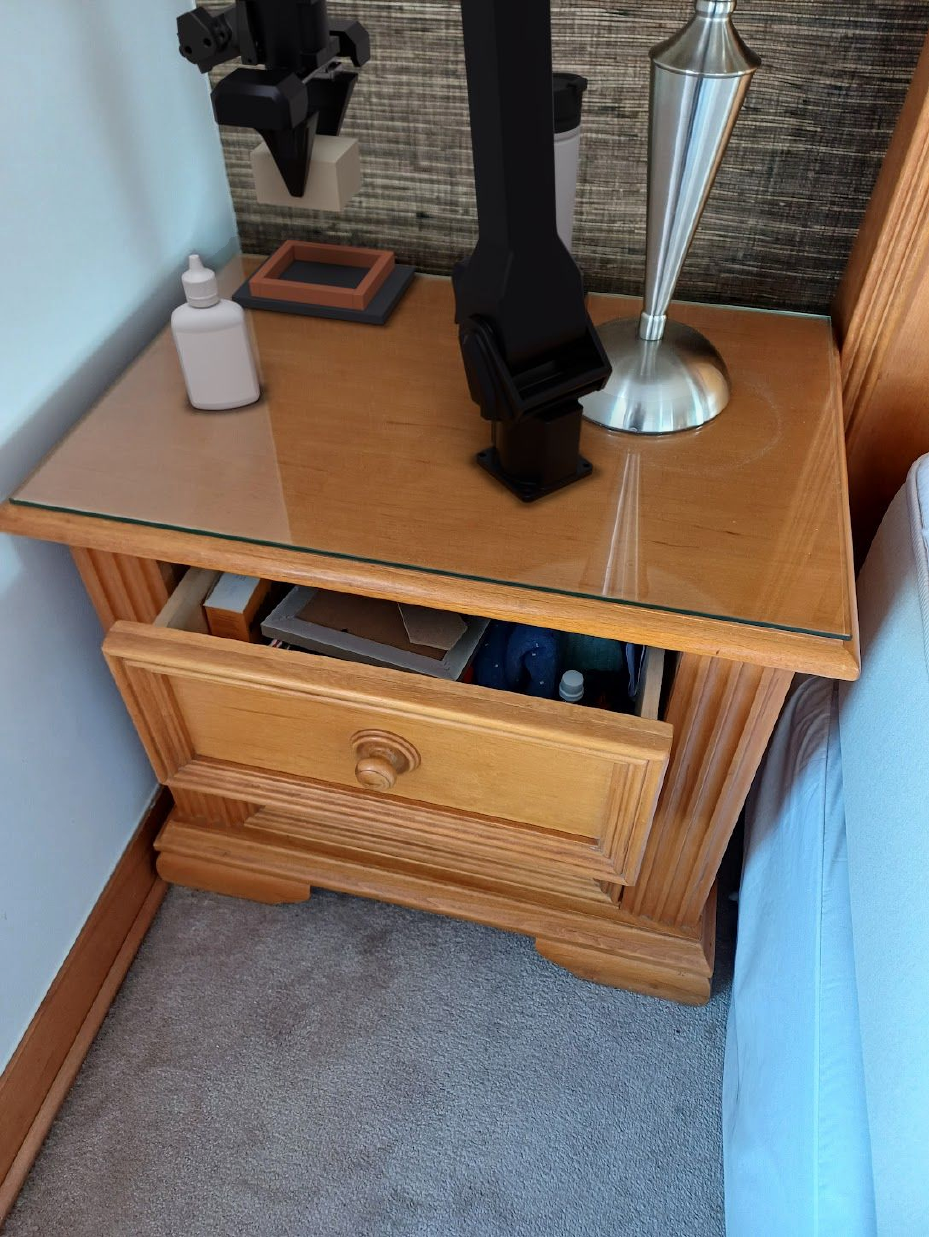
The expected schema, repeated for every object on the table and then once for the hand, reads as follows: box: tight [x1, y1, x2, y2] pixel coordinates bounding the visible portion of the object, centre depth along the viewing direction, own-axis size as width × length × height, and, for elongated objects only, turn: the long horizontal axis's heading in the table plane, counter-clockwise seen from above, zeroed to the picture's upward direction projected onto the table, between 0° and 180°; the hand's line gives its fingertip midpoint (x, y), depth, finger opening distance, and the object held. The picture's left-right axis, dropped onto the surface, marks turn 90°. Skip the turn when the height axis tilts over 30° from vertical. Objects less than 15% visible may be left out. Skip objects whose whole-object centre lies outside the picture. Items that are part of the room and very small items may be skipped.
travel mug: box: [552, 72, 589, 255], centre depth 76 cm, size 6×7×20 cm
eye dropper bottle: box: [170, 254, 261, 411], centre depth 70 cm, size 4×6×12 cm
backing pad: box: [231, 239, 416, 326], centre depth 87 cm, size 15×10×2 cm, turn 75°
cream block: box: [249, 134, 363, 213], centre depth 77 cm, size 8×6×4 cm
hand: (310, 183), depth 77 cm, fingers closed on cream block, 5 cm apart
